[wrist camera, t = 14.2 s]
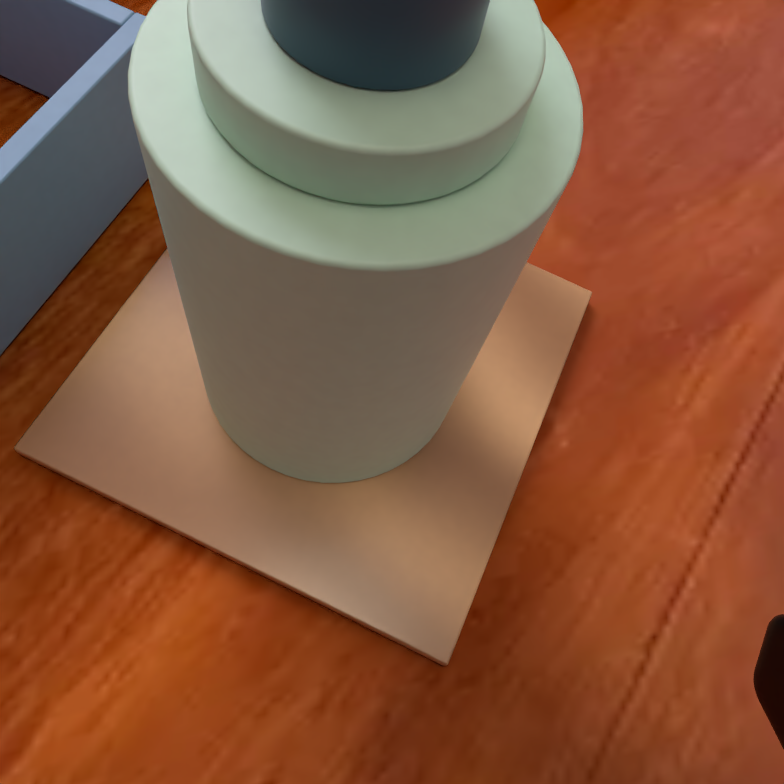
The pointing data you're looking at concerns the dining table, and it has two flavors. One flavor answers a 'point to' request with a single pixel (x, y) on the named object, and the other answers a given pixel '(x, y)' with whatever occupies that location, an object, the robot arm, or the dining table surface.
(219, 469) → the cork mat
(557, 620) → the dining table surface
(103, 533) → the dining table surface
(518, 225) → the water bottle
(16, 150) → the open rectangular frame
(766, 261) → the dining table surface
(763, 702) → the robot arm
